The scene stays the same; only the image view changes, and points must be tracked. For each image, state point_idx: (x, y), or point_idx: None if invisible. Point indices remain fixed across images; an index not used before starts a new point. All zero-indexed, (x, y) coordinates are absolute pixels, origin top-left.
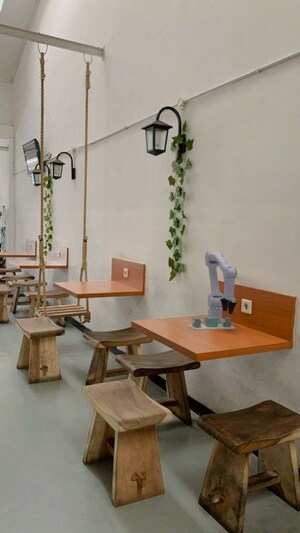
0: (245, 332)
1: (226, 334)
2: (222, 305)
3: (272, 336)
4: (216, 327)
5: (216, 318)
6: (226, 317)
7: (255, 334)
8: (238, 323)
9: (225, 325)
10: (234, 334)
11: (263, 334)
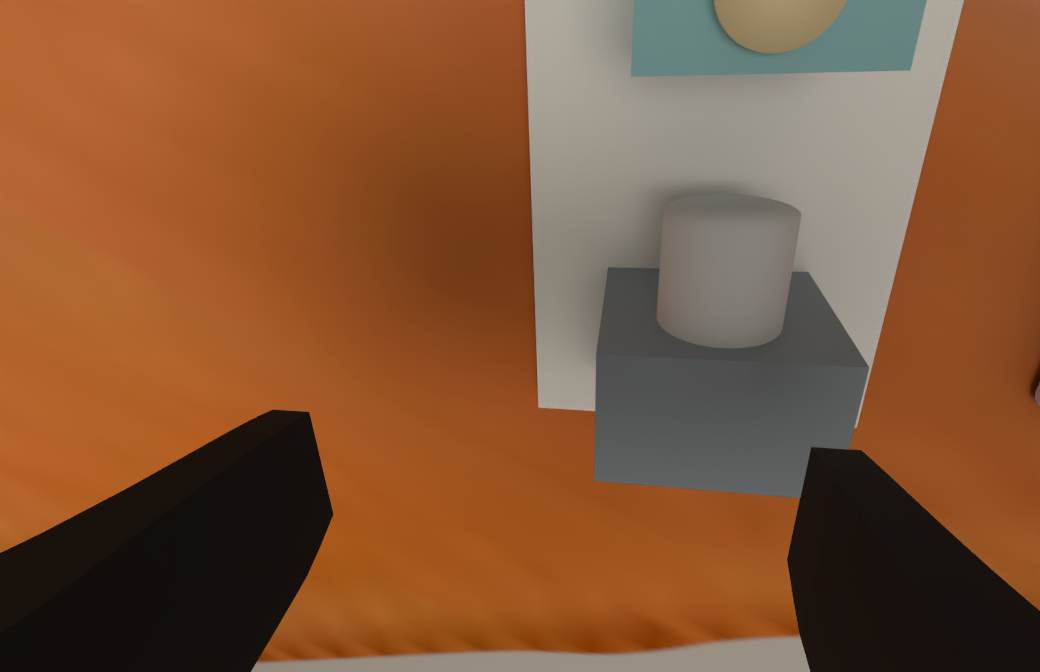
0: (358, 452)
1: (179, 65)
2: (983, 652)
3: None
4: (592, 2)
5: (636, 3)
6: (772, 428)
7: None
8: None
9: (646, 277)
10: (210, 226)
11: None
